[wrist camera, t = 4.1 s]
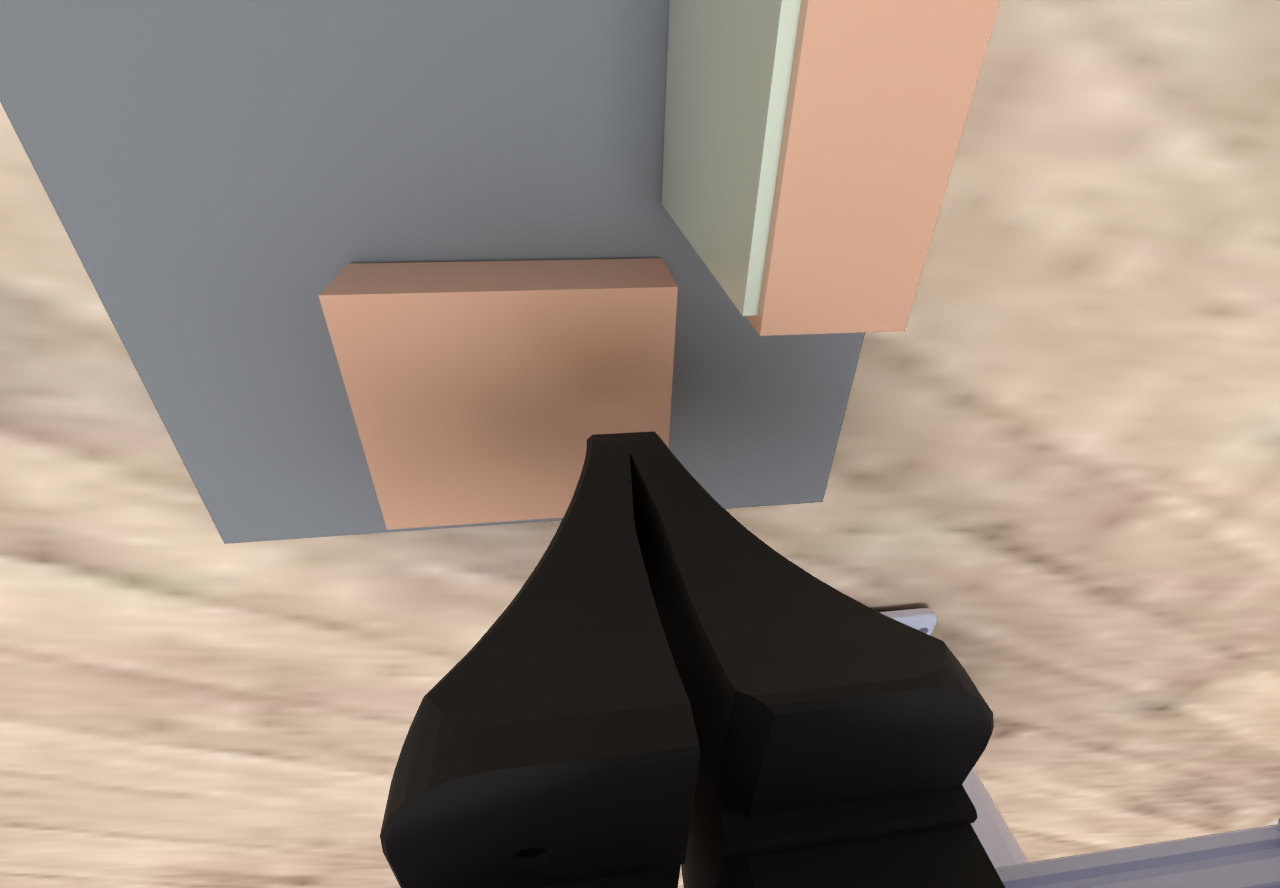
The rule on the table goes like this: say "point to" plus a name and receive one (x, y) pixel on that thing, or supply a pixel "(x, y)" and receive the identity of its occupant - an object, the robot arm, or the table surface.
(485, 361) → the tile
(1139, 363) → the table surface
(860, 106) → the tile
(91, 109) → the slate mat
